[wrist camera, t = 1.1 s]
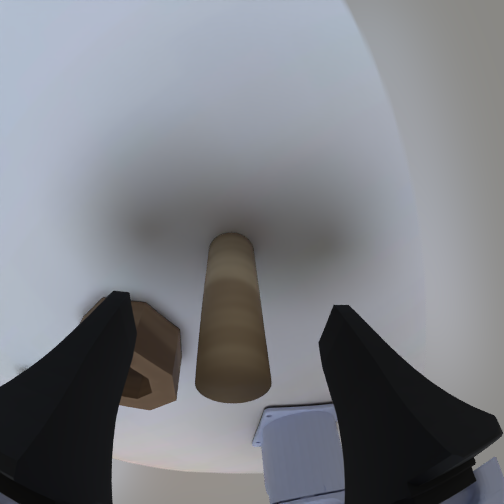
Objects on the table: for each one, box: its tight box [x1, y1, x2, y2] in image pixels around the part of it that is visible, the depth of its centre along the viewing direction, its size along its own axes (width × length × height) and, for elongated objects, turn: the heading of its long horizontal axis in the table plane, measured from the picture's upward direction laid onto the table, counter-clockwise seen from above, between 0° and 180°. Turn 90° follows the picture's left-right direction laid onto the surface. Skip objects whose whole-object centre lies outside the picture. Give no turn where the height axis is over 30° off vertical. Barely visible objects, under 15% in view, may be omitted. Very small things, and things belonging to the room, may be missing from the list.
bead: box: [80, 298, 182, 410], centre depth 15 cm, size 7×7×4 cm
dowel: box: [195, 233, 271, 403], centre depth 11 cm, size 2×2×8 cm
